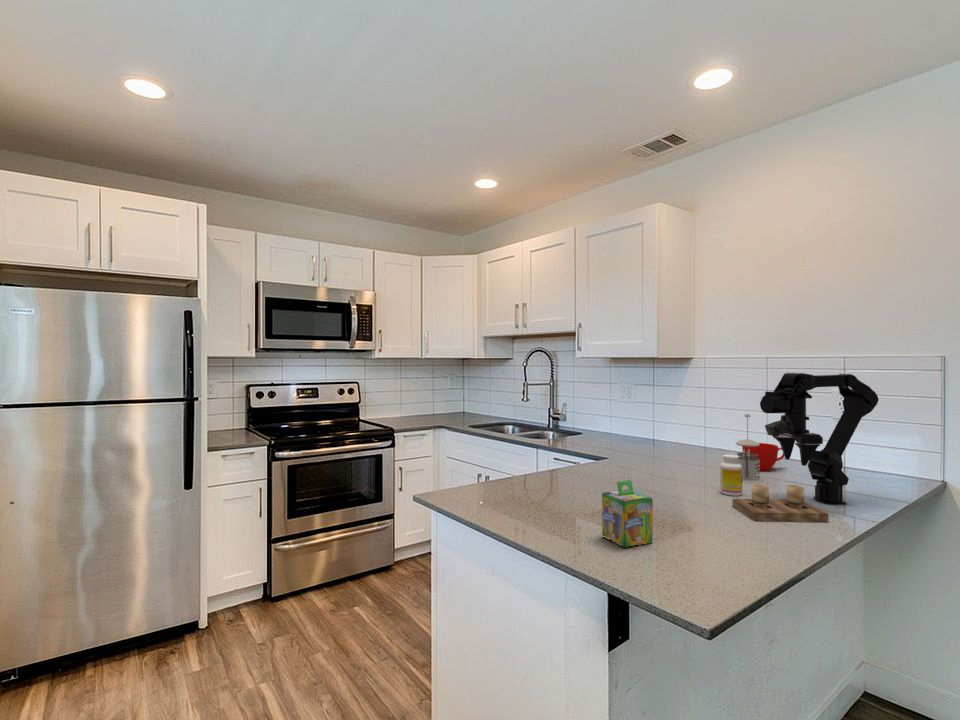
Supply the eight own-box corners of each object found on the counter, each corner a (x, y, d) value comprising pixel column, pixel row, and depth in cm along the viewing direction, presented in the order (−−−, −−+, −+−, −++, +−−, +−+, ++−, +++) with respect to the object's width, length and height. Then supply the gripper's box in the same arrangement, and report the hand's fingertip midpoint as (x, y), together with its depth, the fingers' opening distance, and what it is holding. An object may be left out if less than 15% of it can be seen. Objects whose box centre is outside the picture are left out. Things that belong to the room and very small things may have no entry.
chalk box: (624, 549, 120) (624, 487, 120) (600, 537, 128) (600, 479, 128) (654, 543, 123) (654, 483, 123) (629, 532, 132) (629, 476, 132)
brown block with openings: (799, 507, 153) (799, 481, 153) (828, 522, 139) (828, 493, 139) (732, 506, 154) (732, 480, 154) (754, 521, 140) (754, 492, 140)
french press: (763, 479, 189) (763, 413, 189) (761, 485, 179) (761, 416, 179) (734, 476, 194) (734, 411, 194) (731, 482, 184) (730, 414, 184)
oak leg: (798, 511, 148) (798, 485, 148) (807, 516, 144) (807, 489, 144) (783, 511, 149) (783, 484, 149) (791, 516, 144) (791, 488, 144)
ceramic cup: (795, 472, 199) (795, 447, 199) (752, 473, 199) (752, 448, 199) (776, 466, 212) (776, 442, 212) (736, 466, 212) (736, 442, 212)
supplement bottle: (745, 496, 165) (744, 458, 165) (723, 495, 166) (723, 457, 166) (738, 491, 171) (738, 454, 171) (718, 490, 173) (717, 453, 173)
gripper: (754, 409, 167) (754, 456, 167) (784, 416, 148) (784, 468, 148) (789, 409, 166) (789, 456, 166) (823, 416, 147) (824, 468, 147)
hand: (795, 462), depth 157 cm, fingers open, 9 cm apart
